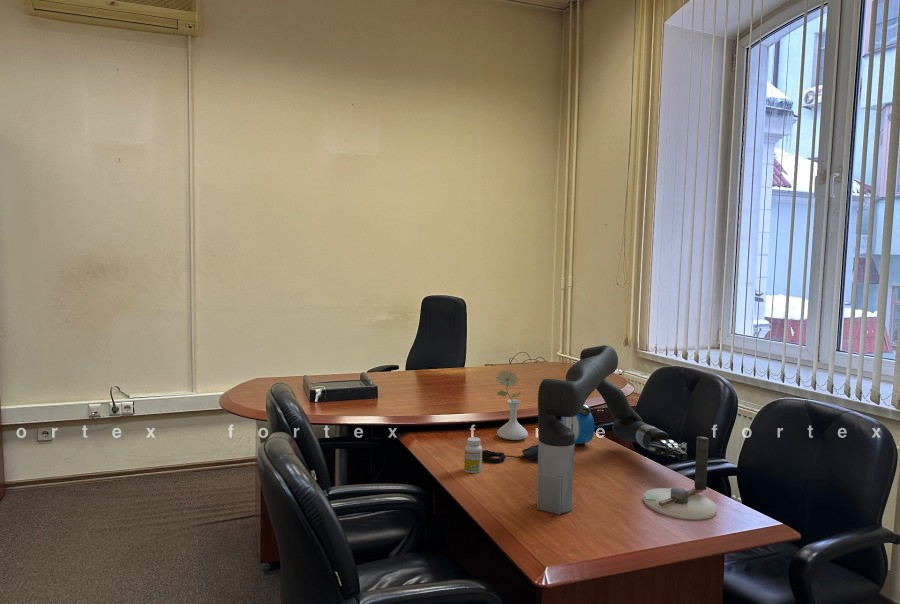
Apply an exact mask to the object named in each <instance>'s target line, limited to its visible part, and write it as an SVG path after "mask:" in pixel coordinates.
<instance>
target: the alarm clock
mask: <svg viewBox="0 0 900 604" xmlns="http://www.w3.org/2000/svg"><path fill="white" fill-rule="evenodd" d="M591 410H592V409H591V407H590V406H589V405H587V404H585V403H584V405H583V407H582V409H581V410H580V412H579V413H578V414H577V415H576V416H574V417H562V416H561V419H560V421H561V422H560V423H561V424H563V425H565V426H566V427H568V428H570V429H571V430H573V432H574V434H575V445H576V446H575V447H578V445H579V444H588V443H590V442H591V441H592V440H593V438H594V436H595V435H594V434H595V430H596V429H595V420H594V416H593V415H592V412H591Z"/></svg>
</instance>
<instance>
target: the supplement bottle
mask: <svg viewBox="0 0 900 604" xmlns="http://www.w3.org/2000/svg"><path fill="white" fill-rule="evenodd" d="M466 442H467V445H465V446H464V464H463V465H464V466H463V467H464V471H465V472H467V473H468V474H469V473H470V474H477V473H481V472H482V470H483V461H482V450H483V446H482V445H481V439H480V438H479V437H477V436H475V437H468V438H467V440H466Z"/></svg>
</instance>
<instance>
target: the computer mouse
mask: <svg viewBox="0 0 900 604" xmlns="http://www.w3.org/2000/svg"><path fill="white" fill-rule="evenodd" d="M538 444H539V443H537V444H534V445H531V446H530V447H526V448H524V449H522V450H521V452H522V454H523V455H521V456H516V455H505V453H504V452H501V451H500V452H498V451H492V450H488V449H482V462H486V463H490V464H500V463H504V462H505V460H506V458H515V459H516V458H517V459H525V458H526V460H527V461H530V462H532V463H538ZM494 457H495V458H494Z"/></svg>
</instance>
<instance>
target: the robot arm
mask: <svg viewBox="0 0 900 604" xmlns="http://www.w3.org/2000/svg"><path fill="white" fill-rule="evenodd" d="M579 356H580V357H579V360H578V361H577V362H575V363H574V364H572V366H571V367H569V369H568V370H567V372H566V375H565V379H564V380H563V379H556V378H544V379H542V380H541V382H540V383H539V387H538V390H537V419H538V421H537V422H538V423H537V429H538V430H537V431H538V432H537V433H538V443H537V444H538V462H537V476H536V477H537V479H536V506H537V507H536V509H537V510H539V511H543V512H547V513H552V514H556V515H561V514H563V513H568V512H570V511H571V510H573V500H574V499H573V498H574V470H575V469H574V466H575V463H574V462H575V447H576V446H575V445H576V444H575V434H574V432H573V430H571V429H570V428H568V427H566V426H565V425H563V424H561V422H560V421H559V420H558V419H557V417H561V418H562V417H574V416H576V415H577V414H578V413H579V412H580V410H581V409H582V407H583V405H584V404H585V402H586V401H587V399H588V398H589V397H590V396H591V394H592V393H593V392H594V391H595V390H597V392H598V393H599V395H600V396H601V397H602V399H603V400H604V403H605V404H606V407H607V409H608V411H609V413H610V415H611V417H613V419H615V421H614V422H613V424H612V427H611V428H612V432H613V433H614V435H615V436H616V437H617V438H619V439H620V440H623V441H627V442H633V443H636V444H638V445H640V446H641V447H642V448H644V449H646V450H647V451H648V452H649V453H650V454H655V455H656V456H664V457H669V456H671V457H672V458H676V459H678V460H680V461H687V460H688V455H689V454H688V453H687V445H688V444H687V442H682V443H680V444H678V442H676V441H674V440H672V438H671V436H670V435H669V434H668V433H667V432H665V431H664V430H661V429H659V428H657V427H655V426H653V425H650V424H648V423H645V422H644V421H643V418H642V416H640V415H639V414H638V413H637V412H636V411H635V410H634V409H633V408H632V407H631V405H630V403H629V401H628V399H627V396H626V395H625V392H624V391H622V390H621V388H619V387H618V386H617V385H615V384H614V383H613V382H611V381H610V380H608V379H606V378H607V377H609V376H610V375H612V374H614V373H615V372H616V371H617V368H618V365H619V358H618V357H619V356H618V353H617V352H616V350H615V348H614V347H612V346H611V345H605V344H604V345H598V346H592V347H587V348H584V349H582V350H581V352H580V354H579Z"/></svg>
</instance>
